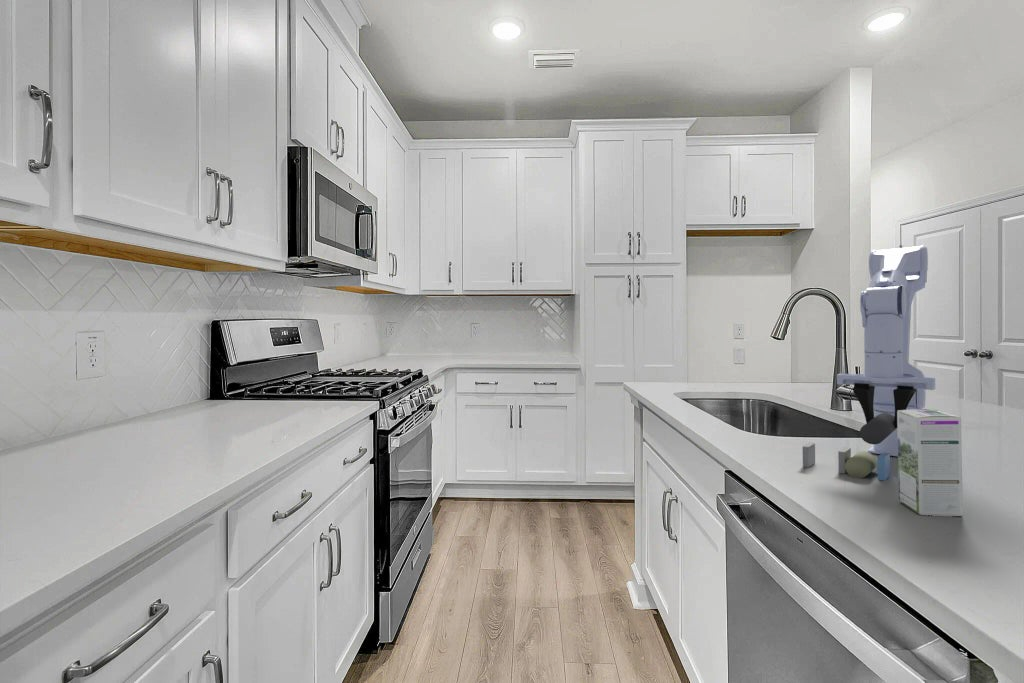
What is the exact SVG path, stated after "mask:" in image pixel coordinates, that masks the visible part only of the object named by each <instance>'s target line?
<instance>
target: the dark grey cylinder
mask: <svg viewBox="0 0 1024 683" xmlns="http://www.w3.org/2000/svg"><path fill="white" fill-rule="evenodd" d="M895 429H896V428H894V416H893V415H891V414H888V413H881V414H879V415H877V416H876V417H875V418H873V419H872V420H871V421H869V422H868V423H865V424H864V425H863V426H861V428H860V429H859V436H860V438H861V440H863V442H865V443H867V444H869V445H874V444H879V443H881V442H882V441H883V440H884V439H886V438H887V437H888V436H889V435H890V434H891V433H892V432H893V431H894V430H895Z"/></svg>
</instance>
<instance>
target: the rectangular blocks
mask: <svg viewBox="0 0 1024 683" xmlns="http://www.w3.org/2000/svg"><path fill="white" fill-rule="evenodd" d="M851 453H852V451H851V447H846V446H844V447H842V448H841V449H840V450H838V456H837V457H838V458H837V459H838V460H837V461H838V473H839V474H843V475H844V474H848V473H847V472H846V470H845V463H846V462H847V461H848V460H849V459H850V458H851V456H852V454H851ZM815 464H816V443H815V442H808V443H806V444H804V445H803V446H802V467H803V468H808V469H809V468H811V467H812V466H813V465H815ZM890 464H891V457H890V453H884V452H883V453H882V454H878V456H877V480H880V481H886V480H887V479H888V478H889V477H890V476H891V465H890Z"/></svg>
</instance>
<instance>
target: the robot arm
mask: <svg viewBox="0 0 1024 683" xmlns="http://www.w3.org/2000/svg"><path fill="white" fill-rule="evenodd" d="M928 255H929V254H928V247H926V246H925V244H922V245H921V244H920V245H919V246H911V247H910V246H908V247H907V246H906V247H898V248H889V249H879V250H877V249H873V250H872V251H871V252H870V253H869V256H868V270H869V275H870V283H869V286H868V287H867V288H866V290H861V293H860V298H859V299H860V300H859V308H860V312H861V323H862V328H864V330H863V332H864V334H863V335H864V337H863V339H864V341H863V342H864V346H863V347H864V349H863V350H864V352H863V353H864V373H863V374H862V373H838V374H836V385H839V386H840V385H841V386H843V385H849V386H852V385H853V388H852V392H853V394H854V395H855V396H856V399H857V400H858V402H859V404H860V406H861V409H862V412H863V414H864V418H865V424H867V423H868V422H869V421H871V420H872V419H873V418H875V417H876V416H877V415H879V414H881V413H888V414H891V415H893V416H894V428H896V429H895V430H894V431H893V432H892V433H891V434H890V435H889V436H888V437H887V438H886V439H884V440H883V441H882V442H881V443H879V444H873V446H871V447H869V449H867V452H868V453H870V454H877V455H881V454H882V453H883V452H884V453H890V456H893V457H897V458H898V433H897V410H910V409H925V406H926V390H928V391H934V390H935V389H936V378H935V377H926V376H925V374H924V372H923V371H922V370H920V369H919V368H917V367H916V366H914V365H913V364H912V363H911V364H910V361H909V360H910V343H911V342H910V341H911V317H912V303H913V301H914V297H915V294H916V293H917V292H919V291H921V290H923V289H925V288H926V283H927V280H928V269H929V268H928V267H929V258H928V257H929V256H928Z"/></svg>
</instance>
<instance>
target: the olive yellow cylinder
mask: <svg viewBox="0 0 1024 683" xmlns="http://www.w3.org/2000/svg"><path fill="white" fill-rule="evenodd" d="M877 466H878V460H877V458H876V457H875V455H873V453H869V452H868V451H858V452H856V453H855V454H854V455H853V456H852V457H851V458H850V459H849V460H848V461H847V462H846V463H845V470H846V472H847V473H846V474H848V476H851V477H852V478H856V477H857V478H856V479H858V478H859V479H864V478H865V477H867V476H868V475H869V474H870V473H871V472H872V471H873V470H874V469H875V468H876V467H877Z"/></svg>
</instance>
